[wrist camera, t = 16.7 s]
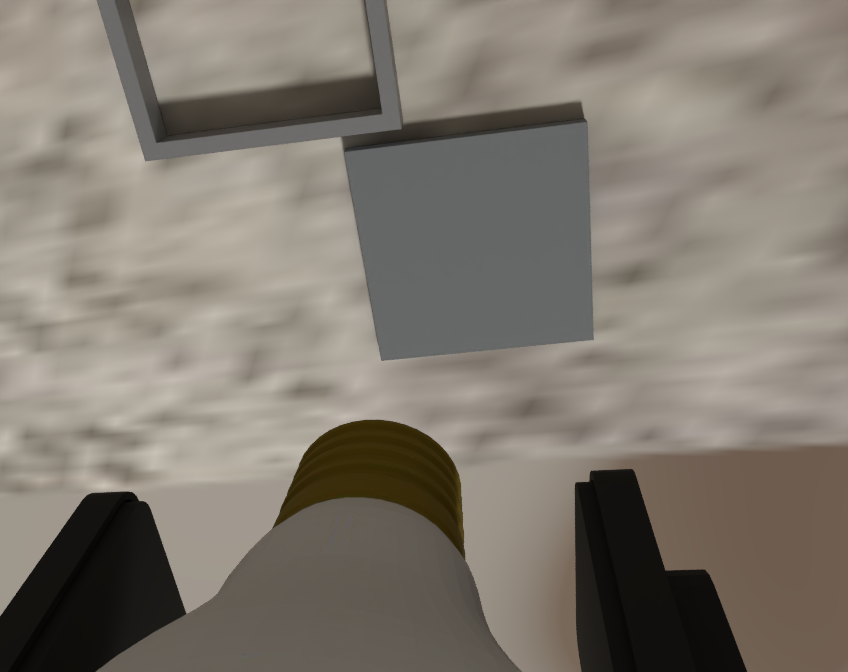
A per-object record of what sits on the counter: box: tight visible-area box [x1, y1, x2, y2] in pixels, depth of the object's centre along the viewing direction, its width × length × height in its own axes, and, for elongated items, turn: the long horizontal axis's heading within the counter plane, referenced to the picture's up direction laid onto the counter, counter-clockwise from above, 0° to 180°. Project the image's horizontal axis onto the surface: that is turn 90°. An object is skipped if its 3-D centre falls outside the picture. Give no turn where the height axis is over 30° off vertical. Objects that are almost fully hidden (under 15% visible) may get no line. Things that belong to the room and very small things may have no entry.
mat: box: [344, 119, 594, 361], centre depth 30 cm, size 9×9×1 cm
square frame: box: [97, 0, 403, 161], centre depth 26 cm, size 10×10×1 cm
